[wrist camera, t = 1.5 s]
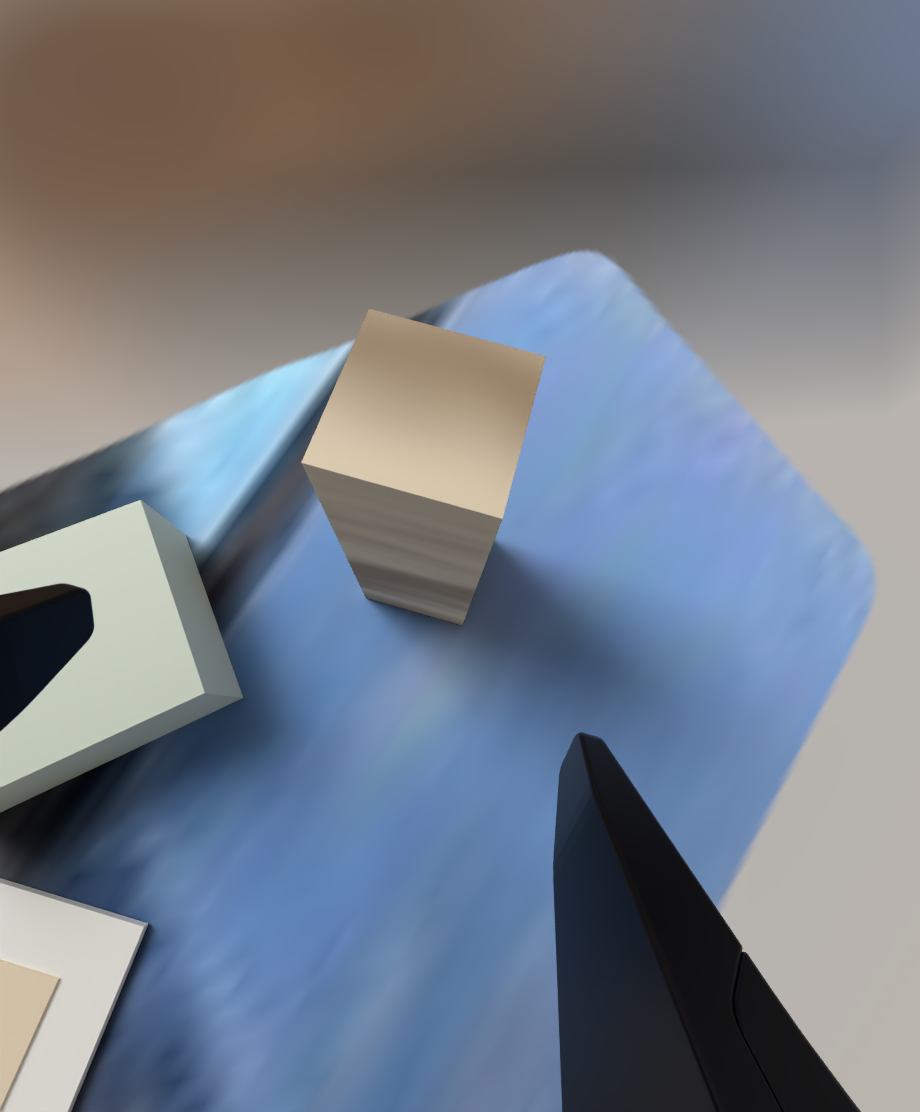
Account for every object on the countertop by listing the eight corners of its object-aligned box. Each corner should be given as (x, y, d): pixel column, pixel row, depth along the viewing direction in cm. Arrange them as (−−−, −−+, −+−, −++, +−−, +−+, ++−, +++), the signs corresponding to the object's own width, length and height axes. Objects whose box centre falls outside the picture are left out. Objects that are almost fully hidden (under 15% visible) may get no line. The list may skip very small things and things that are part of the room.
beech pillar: (462, 625, 22) (502, 519, 10) (365, 597, 22) (301, 462, 11) (487, 535, 23) (545, 356, 12) (396, 510, 23) (369, 308, 12)
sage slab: (-13, 820, 18) (-126, 846, 15) (-50, 631, 21) (-157, 610, 17) (246, 698, 20) (204, 693, 17) (188, 537, 23) (140, 499, 19)
